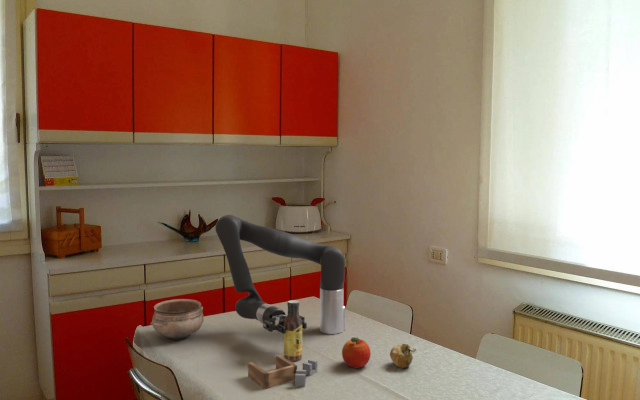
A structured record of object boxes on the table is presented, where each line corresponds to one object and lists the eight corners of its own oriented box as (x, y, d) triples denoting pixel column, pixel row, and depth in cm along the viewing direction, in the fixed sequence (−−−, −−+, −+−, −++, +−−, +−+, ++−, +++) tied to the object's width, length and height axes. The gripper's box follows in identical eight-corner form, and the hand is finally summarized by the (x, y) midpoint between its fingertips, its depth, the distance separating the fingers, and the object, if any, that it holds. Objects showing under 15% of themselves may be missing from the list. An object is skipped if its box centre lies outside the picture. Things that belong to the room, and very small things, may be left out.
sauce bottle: (299, 362, 180) (299, 305, 178) (281, 361, 182) (281, 303, 180) (304, 355, 187) (304, 299, 185) (286, 354, 188) (286, 298, 186)
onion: (407, 360, 183) (408, 337, 182) (416, 369, 175) (417, 345, 175) (386, 361, 182) (387, 339, 181) (394, 371, 174) (395, 347, 173)
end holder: (278, 368, 176) (278, 354, 175) (297, 379, 167) (297, 365, 167) (248, 376, 169) (248, 362, 169) (265, 388, 161) (265, 374, 160)
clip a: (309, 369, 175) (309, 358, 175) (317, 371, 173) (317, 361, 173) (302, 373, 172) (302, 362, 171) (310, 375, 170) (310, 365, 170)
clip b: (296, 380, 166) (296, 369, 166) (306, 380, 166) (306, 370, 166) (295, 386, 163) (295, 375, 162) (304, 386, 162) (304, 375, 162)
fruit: (374, 362, 181) (375, 333, 180) (364, 373, 172) (365, 342, 171) (348, 357, 185) (348, 329, 184) (337, 367, 176) (337, 338, 175)
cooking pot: (170, 352, 189) (169, 318, 188) (135, 341, 199) (134, 309, 198) (219, 332, 210) (219, 301, 209) (185, 323, 220) (184, 294, 219)
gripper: (253, 309, 190) (277, 321, 177) (287, 302, 199) (312, 313, 186) (253, 329, 191) (277, 343, 178) (287, 322, 199) (312, 334, 186)
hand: (295, 328), depth 182 cm, fingers open, 8 cm apart
